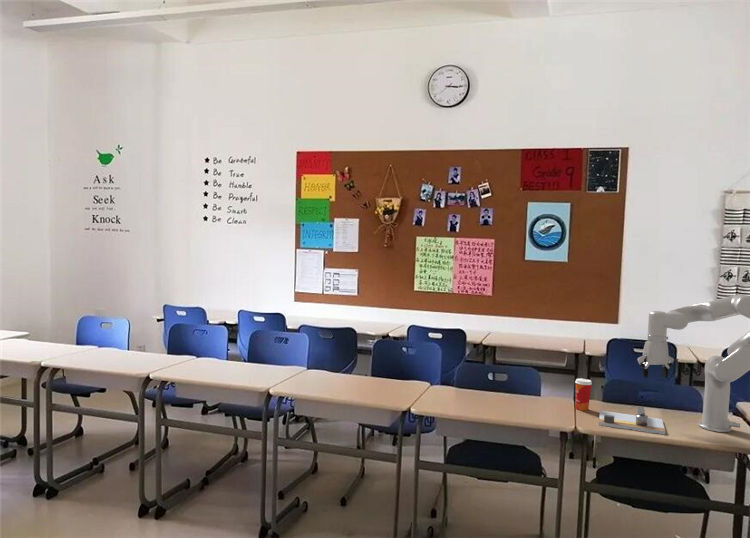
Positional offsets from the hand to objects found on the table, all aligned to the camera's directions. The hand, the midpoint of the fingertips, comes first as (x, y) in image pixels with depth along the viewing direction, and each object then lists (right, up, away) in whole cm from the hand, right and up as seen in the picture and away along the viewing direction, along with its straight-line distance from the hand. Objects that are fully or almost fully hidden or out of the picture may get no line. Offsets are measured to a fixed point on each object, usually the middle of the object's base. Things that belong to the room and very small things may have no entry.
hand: (654, 377), depth 263 cm
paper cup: (-27, -18, +16) cm, 36 cm away
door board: (-12, -20, -3) cm, 23 cm away
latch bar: (-8, -18, -3) cm, 20 cm away
